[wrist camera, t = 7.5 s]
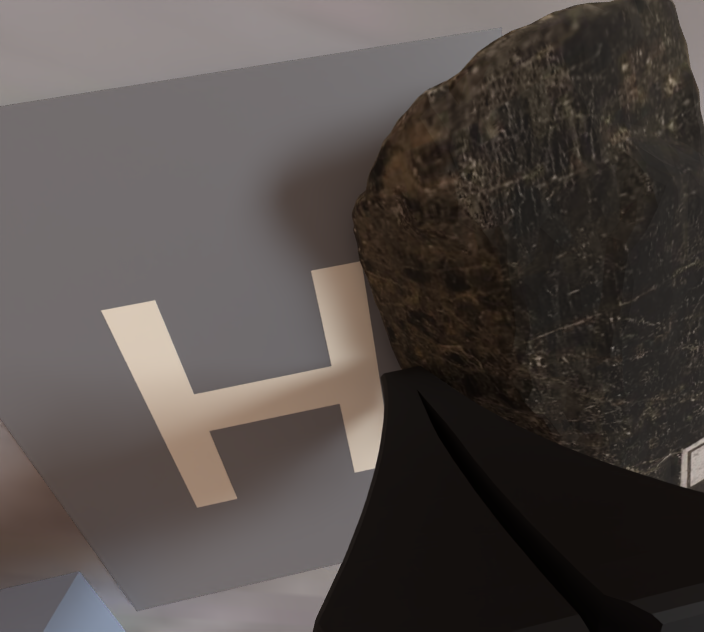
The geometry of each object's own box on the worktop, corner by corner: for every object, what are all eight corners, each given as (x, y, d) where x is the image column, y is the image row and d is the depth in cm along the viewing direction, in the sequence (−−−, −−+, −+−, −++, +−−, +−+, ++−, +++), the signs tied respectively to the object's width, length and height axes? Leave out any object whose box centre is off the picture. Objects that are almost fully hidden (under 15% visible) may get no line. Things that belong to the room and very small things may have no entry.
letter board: (493, 518, 15) (498, 526, 15) (141, 600, 14) (136, 611, 14) (493, 34, 8) (502, 27, 8) (-174, 139, 8) (-200, 137, 7)
